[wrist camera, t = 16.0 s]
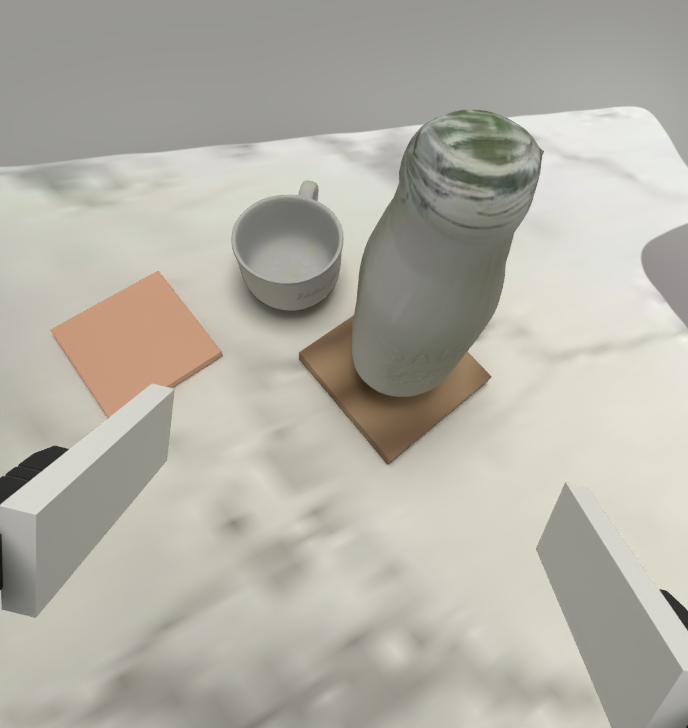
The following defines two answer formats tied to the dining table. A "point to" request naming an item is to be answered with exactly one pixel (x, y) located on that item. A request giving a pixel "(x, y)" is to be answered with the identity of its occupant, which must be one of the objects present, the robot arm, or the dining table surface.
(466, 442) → the dining table surface
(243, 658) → the dining table surface
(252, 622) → the dining table surface
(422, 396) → the walnut board
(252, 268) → the teacup
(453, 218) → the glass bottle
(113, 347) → the terracotta tile
